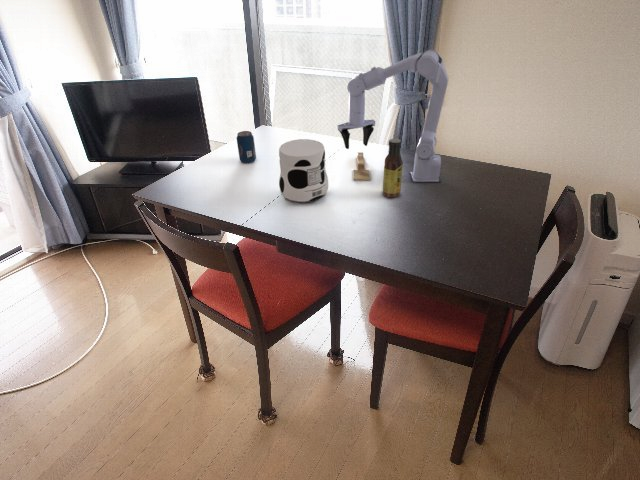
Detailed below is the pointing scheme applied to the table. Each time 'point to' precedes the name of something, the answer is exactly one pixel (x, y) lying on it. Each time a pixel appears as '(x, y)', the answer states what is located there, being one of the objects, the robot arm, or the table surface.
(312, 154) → the milk container
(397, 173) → the sauce bottle
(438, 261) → the table surface
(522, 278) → the table surface
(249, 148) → the soda can
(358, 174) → the tan upright bar
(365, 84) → the robot arm
